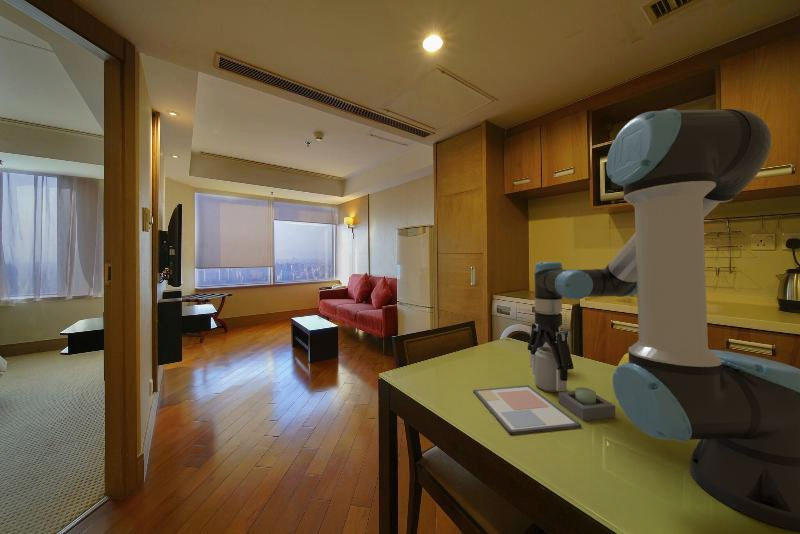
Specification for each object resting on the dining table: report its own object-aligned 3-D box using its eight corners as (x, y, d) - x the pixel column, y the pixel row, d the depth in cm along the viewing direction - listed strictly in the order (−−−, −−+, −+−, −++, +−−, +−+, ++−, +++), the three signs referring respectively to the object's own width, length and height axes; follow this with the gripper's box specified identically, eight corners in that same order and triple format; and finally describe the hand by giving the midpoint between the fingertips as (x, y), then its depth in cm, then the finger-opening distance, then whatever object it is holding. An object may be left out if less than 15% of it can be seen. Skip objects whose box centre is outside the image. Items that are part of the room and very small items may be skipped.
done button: (600, 407, 76) (600, 394, 76) (584, 409, 76) (584, 396, 75) (586, 399, 81) (586, 386, 81) (571, 400, 80) (571, 388, 80)
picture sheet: (581, 427, 70) (581, 424, 70) (510, 435, 68) (510, 432, 68) (528, 387, 92) (528, 385, 92) (473, 392, 90) (473, 389, 90)
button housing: (615, 417, 74) (615, 405, 74) (582, 420, 73) (582, 408, 73) (587, 400, 83) (587, 389, 83) (558, 403, 82) (558, 392, 82)
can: (555, 382, 95) (555, 345, 95) (566, 393, 88) (566, 353, 87) (531, 382, 96) (531, 345, 96) (540, 392, 89) (540, 352, 88)
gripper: (588, 319, 80) (588, 398, 81) (536, 305, 103) (536, 367, 104) (563, 320, 79) (563, 401, 80) (516, 306, 102) (516, 368, 103)
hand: (548, 381), depth 92 cm, fingers open, 11 cm apart
